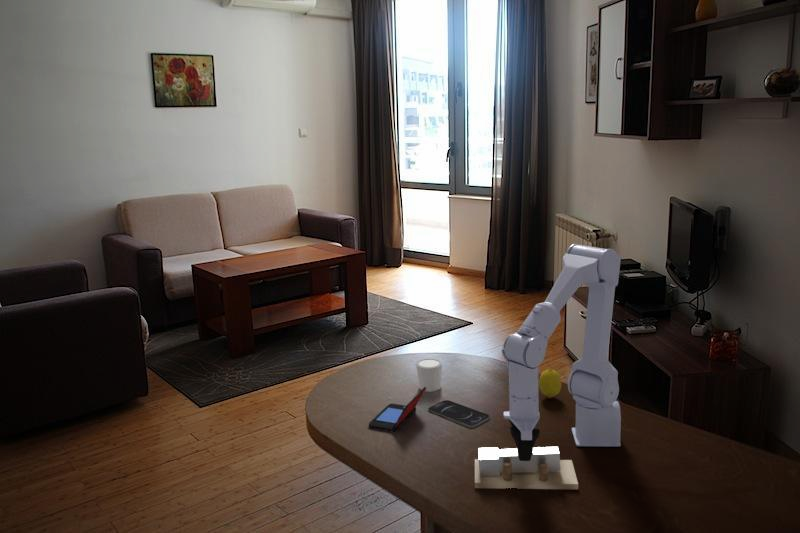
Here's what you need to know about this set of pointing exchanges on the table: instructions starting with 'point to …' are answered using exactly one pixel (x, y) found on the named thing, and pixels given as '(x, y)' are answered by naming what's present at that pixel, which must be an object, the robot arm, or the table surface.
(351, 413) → the table surface
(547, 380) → the lemon
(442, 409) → the smartphone
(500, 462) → the bar
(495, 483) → the peg cradle
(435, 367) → the white cylinder
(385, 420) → the handheld game console
